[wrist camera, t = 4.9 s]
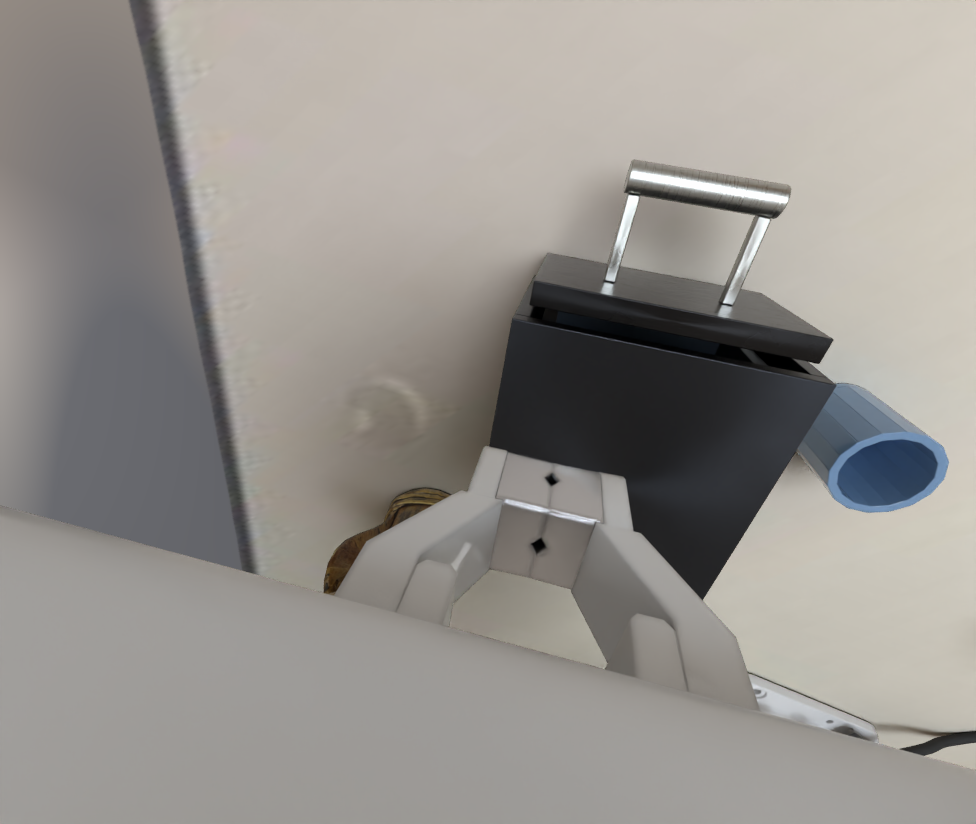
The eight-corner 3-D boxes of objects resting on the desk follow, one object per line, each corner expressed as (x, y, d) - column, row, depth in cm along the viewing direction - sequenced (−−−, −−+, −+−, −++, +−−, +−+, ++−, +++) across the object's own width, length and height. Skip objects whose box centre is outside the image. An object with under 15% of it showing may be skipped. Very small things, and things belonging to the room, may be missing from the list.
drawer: (567, 153, 25) (561, 142, 17) (808, 193, 24) (915, 200, 16) (508, 437, 35) (488, 510, 27) (675, 476, 33) (702, 564, 26)
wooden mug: (394, 438, 38) (265, 615, 23) (497, 533, 41) (445, 747, 26) (340, 484, 42) (199, 662, 27) (437, 568, 45) (361, 771, 30)
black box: (534, 274, 29) (512, 318, 20) (754, 317, 28) (837, 385, 19) (498, 457, 37) (470, 548, 28) (668, 498, 36) (698, 608, 26)
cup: (896, 393, 28) (973, 445, 23) (848, 460, 31) (907, 522, 25) (808, 375, 29) (862, 422, 23) (769, 442, 32) (809, 499, 26)
